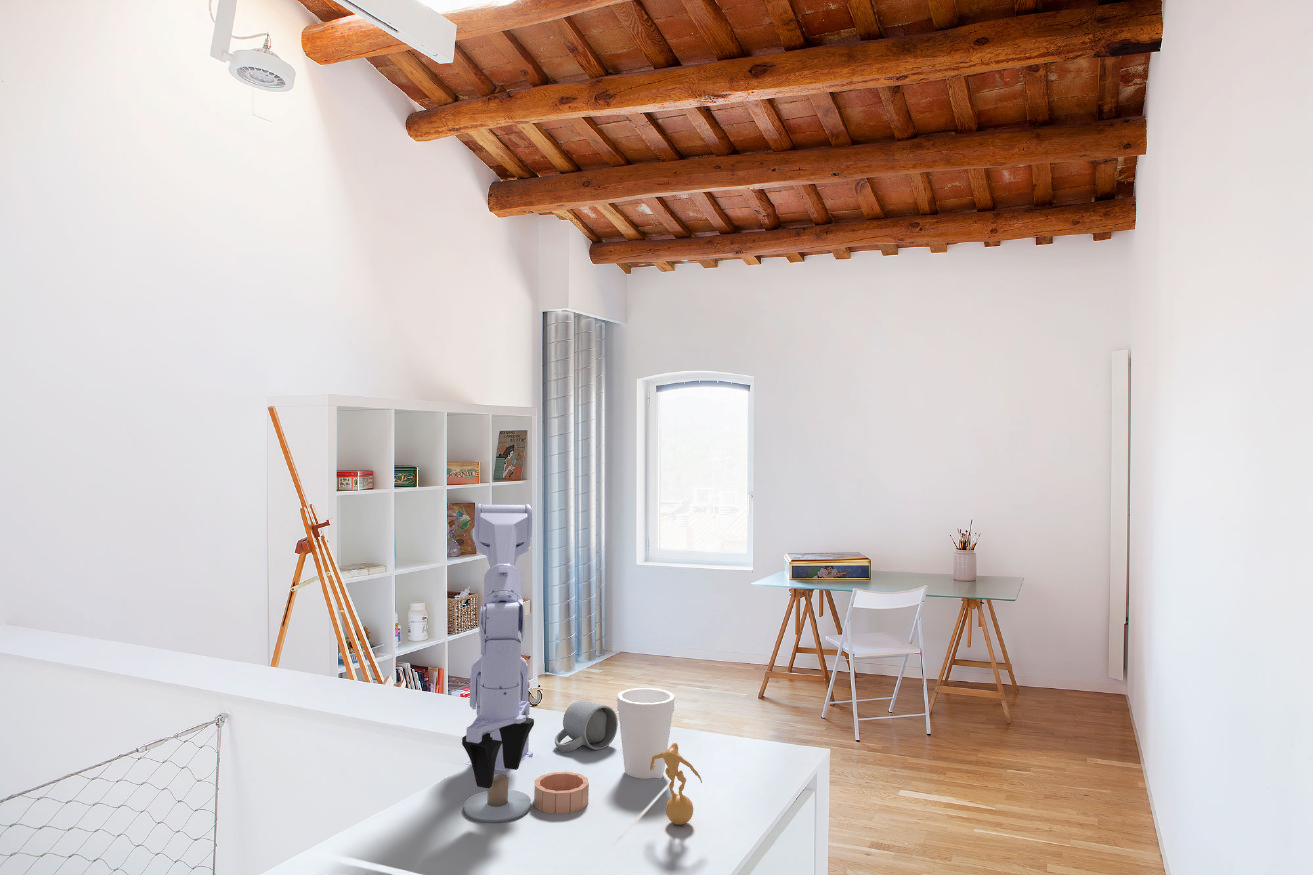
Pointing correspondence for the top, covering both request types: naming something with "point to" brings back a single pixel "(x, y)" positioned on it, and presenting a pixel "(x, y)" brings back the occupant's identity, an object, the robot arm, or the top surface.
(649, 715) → the foam cup
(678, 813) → the figurine
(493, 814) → the lid
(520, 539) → the robot arm
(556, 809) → the bowl
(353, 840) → the top surface
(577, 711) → the ceramic mug
